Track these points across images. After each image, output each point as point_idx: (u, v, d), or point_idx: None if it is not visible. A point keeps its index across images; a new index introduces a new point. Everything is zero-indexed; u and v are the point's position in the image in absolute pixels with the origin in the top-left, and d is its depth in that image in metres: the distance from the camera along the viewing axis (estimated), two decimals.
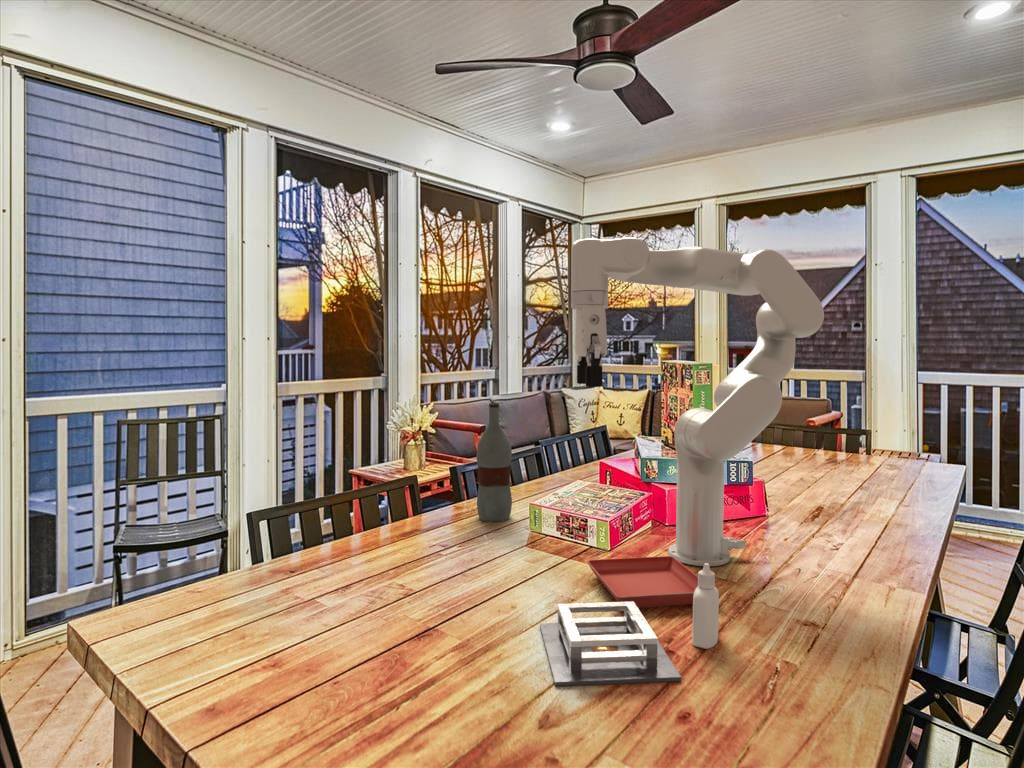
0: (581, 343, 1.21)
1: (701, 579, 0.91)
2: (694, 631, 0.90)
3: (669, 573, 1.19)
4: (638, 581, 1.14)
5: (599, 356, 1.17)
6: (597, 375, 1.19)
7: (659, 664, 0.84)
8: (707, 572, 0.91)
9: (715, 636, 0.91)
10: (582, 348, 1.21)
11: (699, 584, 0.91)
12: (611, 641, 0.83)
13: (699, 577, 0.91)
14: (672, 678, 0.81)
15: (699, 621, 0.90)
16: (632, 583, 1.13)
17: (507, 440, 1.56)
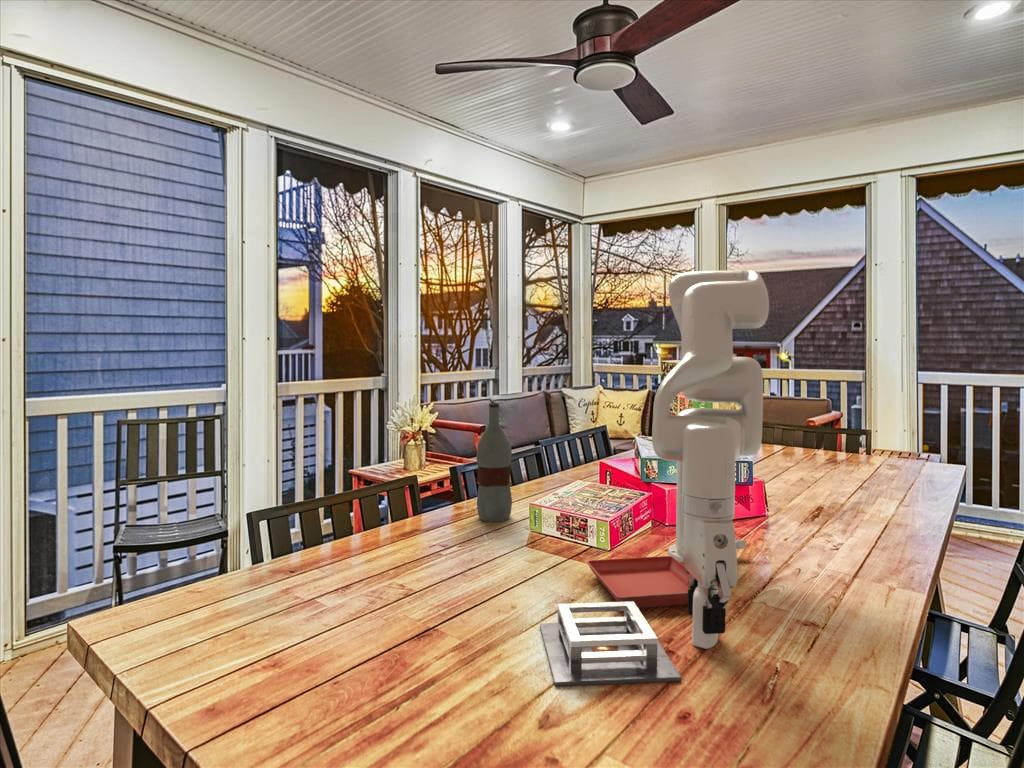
0: (700, 569, 0.88)
1: None
2: (694, 631, 0.90)
3: (669, 573, 1.19)
4: (638, 581, 1.14)
5: (725, 601, 0.86)
6: (720, 620, 0.88)
7: (659, 664, 0.84)
8: None
9: (715, 636, 0.91)
10: (702, 577, 0.88)
11: (698, 584, 0.91)
12: (611, 641, 0.83)
13: None
14: (672, 678, 0.81)
15: (699, 620, 0.90)
16: (632, 583, 1.13)
17: (507, 440, 1.56)
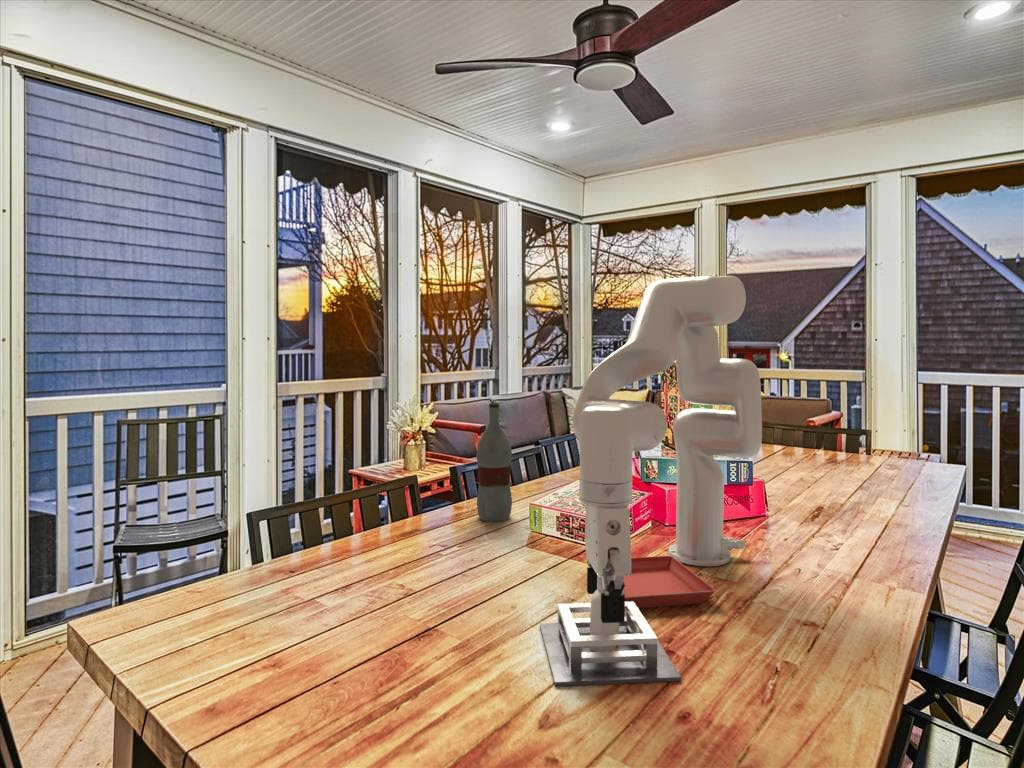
0: (594, 557, 0.85)
1: (599, 581, 0.88)
2: None
3: (669, 573, 1.19)
4: (638, 581, 1.14)
5: (621, 586, 0.81)
6: (618, 608, 0.83)
7: (659, 664, 0.84)
8: None
9: None
10: (596, 565, 0.84)
11: (597, 586, 0.89)
12: (611, 641, 0.83)
13: (598, 579, 0.89)
14: (672, 678, 0.81)
15: (595, 624, 0.87)
16: (632, 583, 1.13)
17: (507, 440, 1.56)
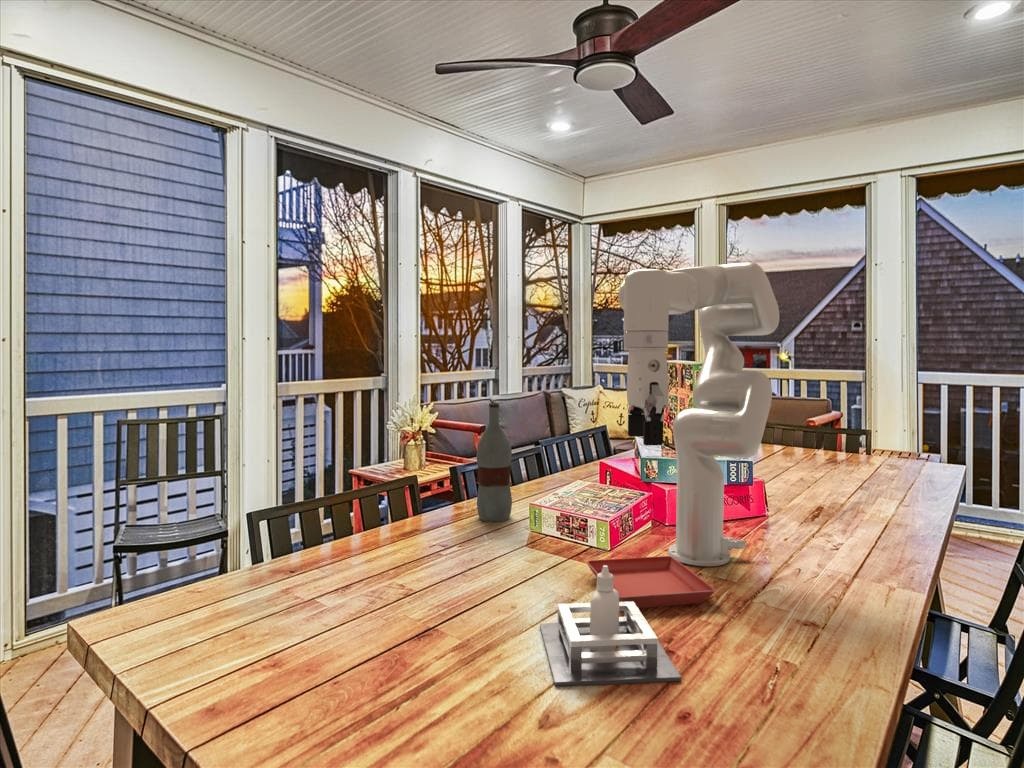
0: (637, 393, 1.02)
1: (598, 581, 0.88)
2: None
3: (669, 573, 1.19)
4: (638, 581, 1.14)
5: (661, 410, 0.98)
6: (658, 432, 1.00)
7: (659, 664, 0.84)
8: (605, 575, 0.88)
9: None
10: (639, 399, 1.02)
11: (597, 587, 0.89)
12: (611, 641, 0.83)
13: (597, 579, 0.89)
14: (672, 678, 0.81)
15: (595, 624, 0.87)
16: (632, 583, 1.13)
17: (507, 440, 1.56)
